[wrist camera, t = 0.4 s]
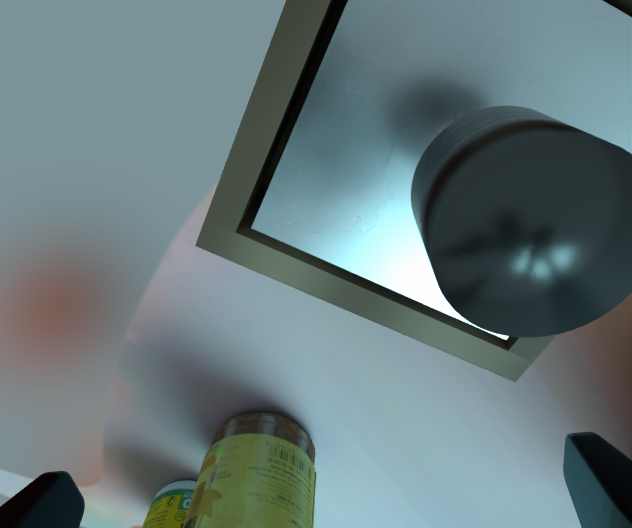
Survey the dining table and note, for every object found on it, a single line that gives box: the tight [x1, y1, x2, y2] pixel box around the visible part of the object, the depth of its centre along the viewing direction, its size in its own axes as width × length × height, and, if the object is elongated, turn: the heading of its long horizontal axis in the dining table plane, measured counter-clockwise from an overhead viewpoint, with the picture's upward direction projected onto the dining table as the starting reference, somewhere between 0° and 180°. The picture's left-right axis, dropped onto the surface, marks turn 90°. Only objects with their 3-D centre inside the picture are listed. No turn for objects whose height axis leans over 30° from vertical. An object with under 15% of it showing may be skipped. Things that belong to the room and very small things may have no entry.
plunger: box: [251, 0, 632, 340], centre depth 11 cm, size 9×9×7 cm
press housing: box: [195, 0, 632, 382], centre depth 16 cm, size 12×12×6 cm
